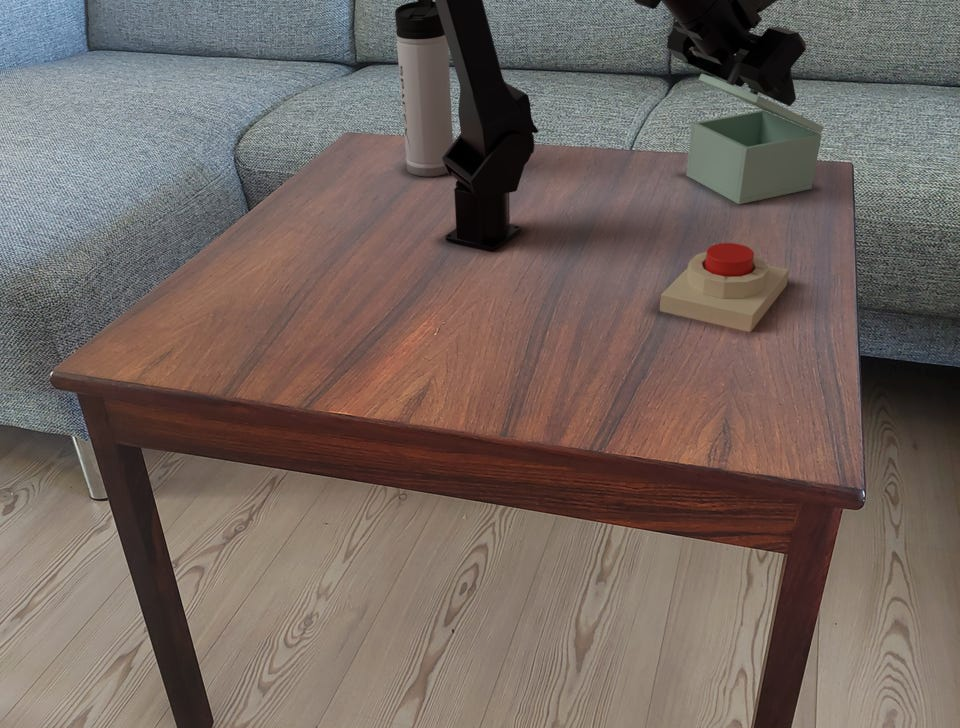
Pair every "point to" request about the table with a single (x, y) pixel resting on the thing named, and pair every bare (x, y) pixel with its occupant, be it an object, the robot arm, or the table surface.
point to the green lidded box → (752, 156)
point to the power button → (729, 260)
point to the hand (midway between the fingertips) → (767, 92)
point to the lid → (757, 98)
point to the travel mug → (424, 87)
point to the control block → (724, 294)
